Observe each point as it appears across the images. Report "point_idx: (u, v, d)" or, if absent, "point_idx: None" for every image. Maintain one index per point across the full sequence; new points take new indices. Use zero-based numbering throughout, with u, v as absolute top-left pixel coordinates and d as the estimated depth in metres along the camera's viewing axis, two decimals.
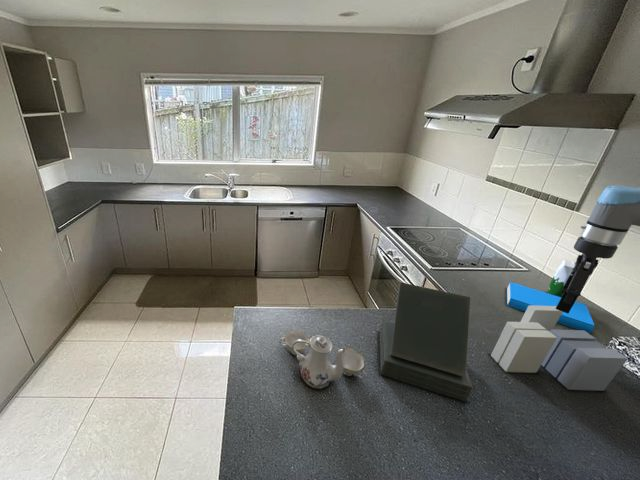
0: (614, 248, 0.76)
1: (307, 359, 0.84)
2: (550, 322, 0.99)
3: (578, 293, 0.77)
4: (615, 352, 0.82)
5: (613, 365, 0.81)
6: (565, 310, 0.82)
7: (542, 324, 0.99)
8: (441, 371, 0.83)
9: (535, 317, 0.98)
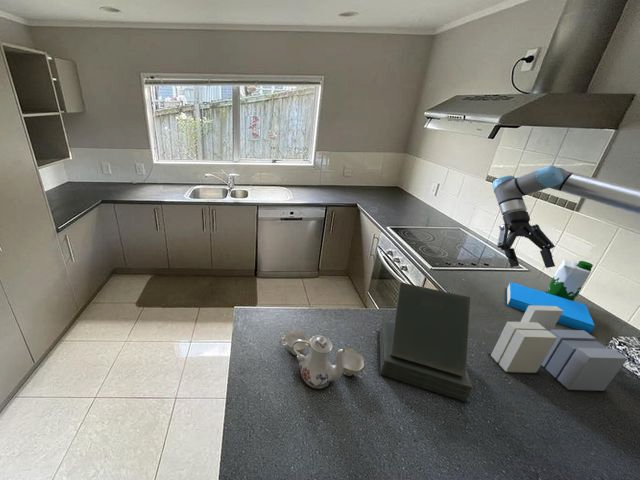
0: (517, 211, 1.07)
1: (307, 359, 0.84)
2: (550, 322, 0.99)
3: (502, 243, 1.04)
4: (615, 352, 0.82)
5: (613, 365, 0.81)
6: (514, 264, 1.02)
7: (542, 324, 0.99)
8: (441, 371, 0.83)
9: (535, 317, 0.98)
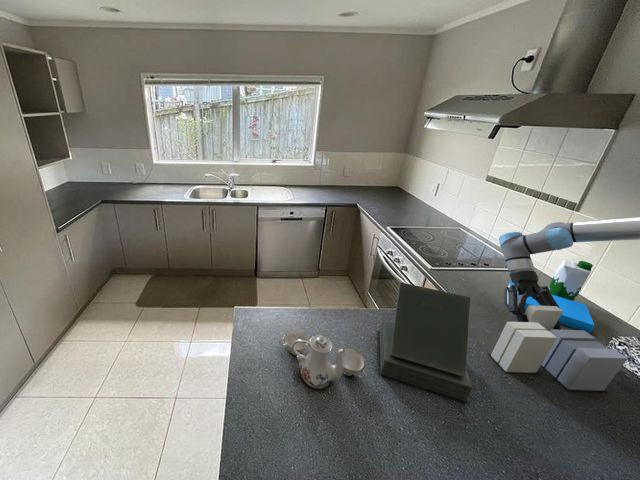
0: (525, 271, 1.04)
1: (307, 359, 0.84)
2: (550, 322, 0.99)
3: (513, 309, 1.01)
4: (615, 352, 0.82)
5: (613, 365, 0.81)
6: None
7: (542, 324, 0.99)
8: (441, 371, 0.83)
9: (535, 317, 0.98)
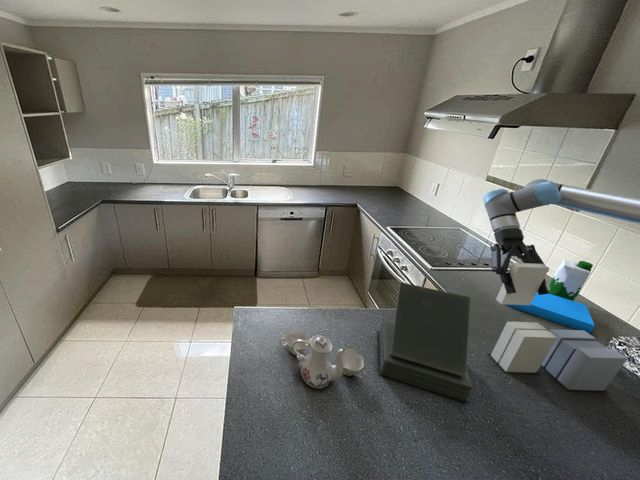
0: (509, 228, 0.97)
1: (307, 359, 0.84)
2: (535, 281, 0.92)
3: (496, 268, 0.94)
4: (615, 352, 0.82)
5: (613, 365, 0.81)
6: (511, 290, 0.92)
7: (527, 283, 0.92)
8: (441, 371, 0.83)
9: (519, 275, 0.91)
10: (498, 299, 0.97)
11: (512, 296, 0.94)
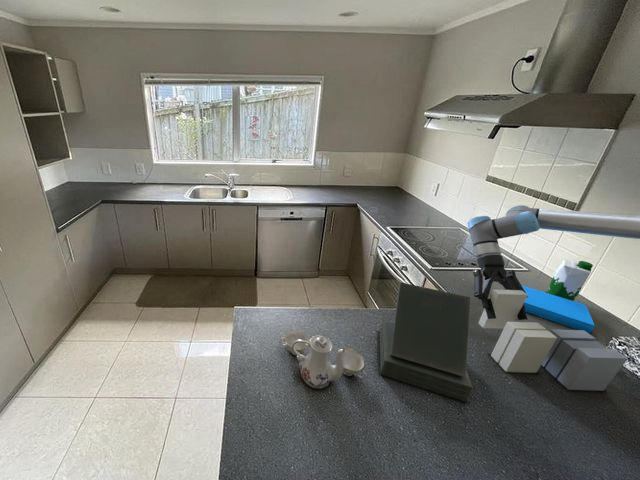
0: (491, 255, 1.01)
1: (307, 359, 0.84)
2: (514, 307, 0.96)
3: (478, 293, 0.98)
4: (615, 352, 0.82)
5: (613, 365, 0.81)
6: (491, 316, 0.96)
7: (507, 309, 0.97)
8: (441, 371, 0.83)
9: (499, 302, 0.95)
10: (480, 323, 1.01)
11: (493, 320, 0.99)
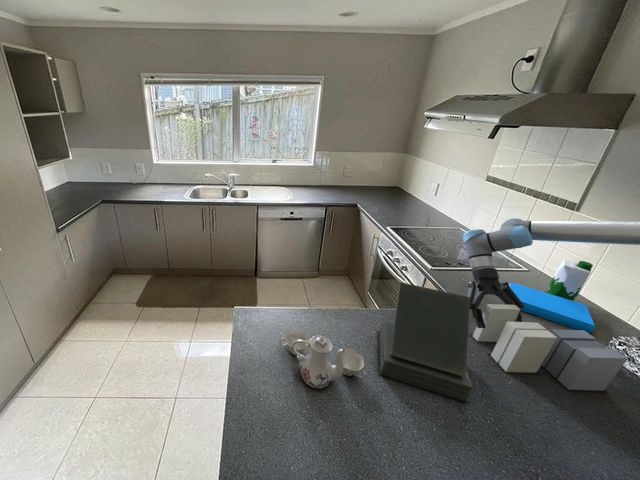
0: (485, 268, 1.03)
1: (307, 359, 0.84)
2: (508, 321, 0.99)
3: None
4: (615, 352, 0.82)
5: (613, 365, 0.81)
6: (481, 326, 0.98)
7: (500, 323, 0.99)
8: (441, 371, 0.83)
9: (493, 316, 0.98)
10: (474, 336, 1.03)
11: (487, 334, 1.01)
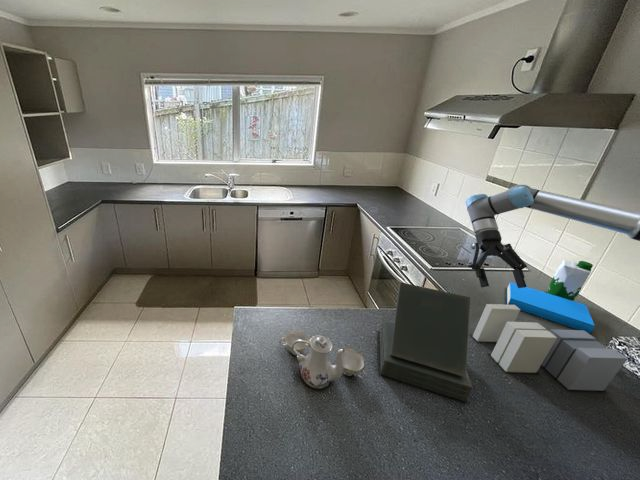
0: (488, 230, 1.06)
1: (307, 359, 0.84)
2: (508, 321, 0.99)
3: (472, 263, 1.03)
4: (615, 352, 0.82)
5: (613, 365, 0.81)
6: (484, 284, 1.01)
7: (500, 323, 0.99)
8: (441, 371, 0.83)
9: (493, 316, 0.98)
10: (474, 336, 1.03)
11: (487, 334, 1.01)
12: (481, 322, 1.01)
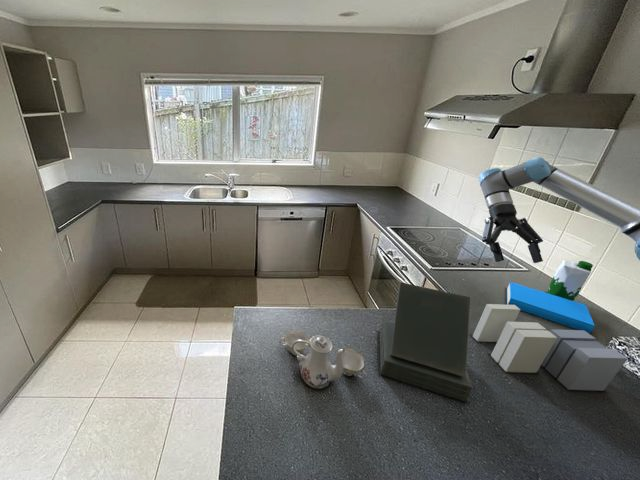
0: (503, 204, 1.03)
1: (307, 359, 0.84)
2: (508, 321, 0.99)
3: (486, 237, 1.00)
4: (615, 352, 0.82)
5: (613, 365, 0.81)
6: (499, 258, 0.97)
7: (500, 323, 0.99)
8: (441, 371, 0.83)
9: (493, 316, 0.98)
10: (474, 336, 1.03)
11: (487, 334, 1.01)
12: (481, 322, 1.01)
